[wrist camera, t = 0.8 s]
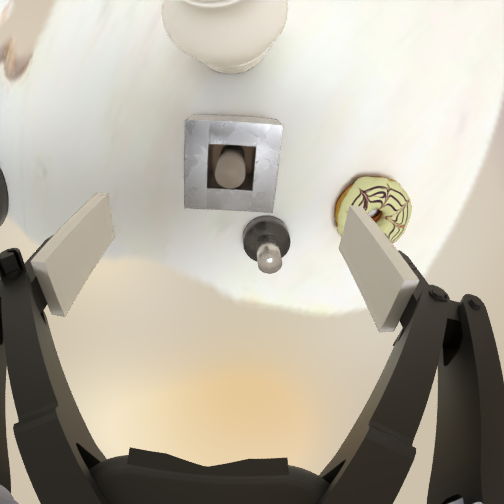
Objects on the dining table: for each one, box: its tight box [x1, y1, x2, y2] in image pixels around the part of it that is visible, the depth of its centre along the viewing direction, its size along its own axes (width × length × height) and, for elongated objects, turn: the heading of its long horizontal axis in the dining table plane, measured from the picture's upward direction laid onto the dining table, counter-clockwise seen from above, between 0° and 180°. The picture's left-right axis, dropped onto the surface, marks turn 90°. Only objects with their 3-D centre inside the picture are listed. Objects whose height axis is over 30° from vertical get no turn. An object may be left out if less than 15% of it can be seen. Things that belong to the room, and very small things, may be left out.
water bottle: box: [162, 0, 288, 74], centre depth 15 cm, size 7×7×25 cm
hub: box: [243, 216, 290, 274], centre depth 36 cm, size 6×6×6 cm
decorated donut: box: [335, 176, 412, 244], centre depth 36 cm, size 10×11×4 cm
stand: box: [212, 144, 253, 189], centre depth 27 cm, size 6×6×12 cm
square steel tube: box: [184, 115, 283, 213], centre depth 26 cm, size 8×8×5 cm
